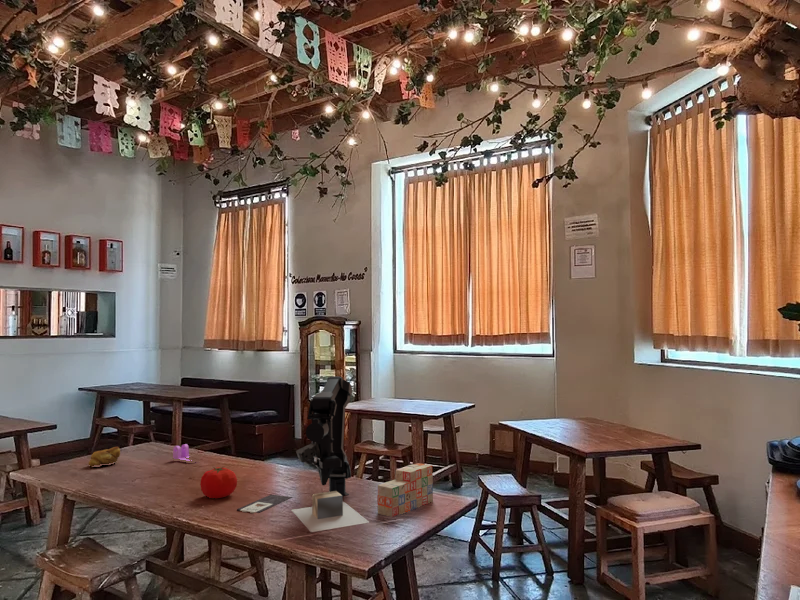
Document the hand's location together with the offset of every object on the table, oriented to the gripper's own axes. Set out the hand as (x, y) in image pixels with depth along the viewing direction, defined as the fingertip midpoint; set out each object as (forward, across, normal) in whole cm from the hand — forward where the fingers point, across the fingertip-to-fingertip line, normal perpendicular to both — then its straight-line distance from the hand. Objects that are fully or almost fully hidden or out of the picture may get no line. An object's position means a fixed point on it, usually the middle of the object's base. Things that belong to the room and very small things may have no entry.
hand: (323, 485), depth 184 cm
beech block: (+5, +1, 0) cm, 5 cm away
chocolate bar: (+9, -17, -15) cm, 25 cm away
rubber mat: (+9, +5, 0) cm, 10 cm away
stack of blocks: (+9, +8, +25) cm, 28 cm away
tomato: (+9, -34, -28) cm, 45 cm away
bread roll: (+9, -110, -67) cm, 129 cm away
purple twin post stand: (+9, -100, -33) cm, 105 cm away
